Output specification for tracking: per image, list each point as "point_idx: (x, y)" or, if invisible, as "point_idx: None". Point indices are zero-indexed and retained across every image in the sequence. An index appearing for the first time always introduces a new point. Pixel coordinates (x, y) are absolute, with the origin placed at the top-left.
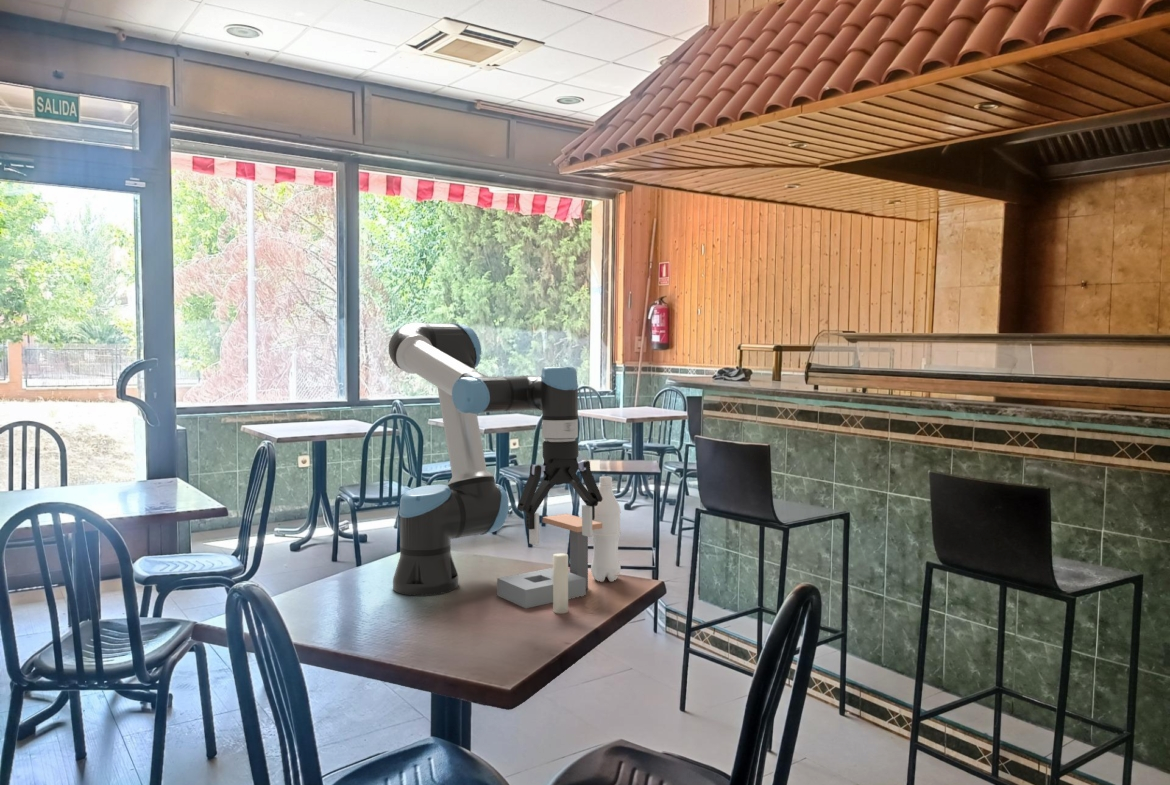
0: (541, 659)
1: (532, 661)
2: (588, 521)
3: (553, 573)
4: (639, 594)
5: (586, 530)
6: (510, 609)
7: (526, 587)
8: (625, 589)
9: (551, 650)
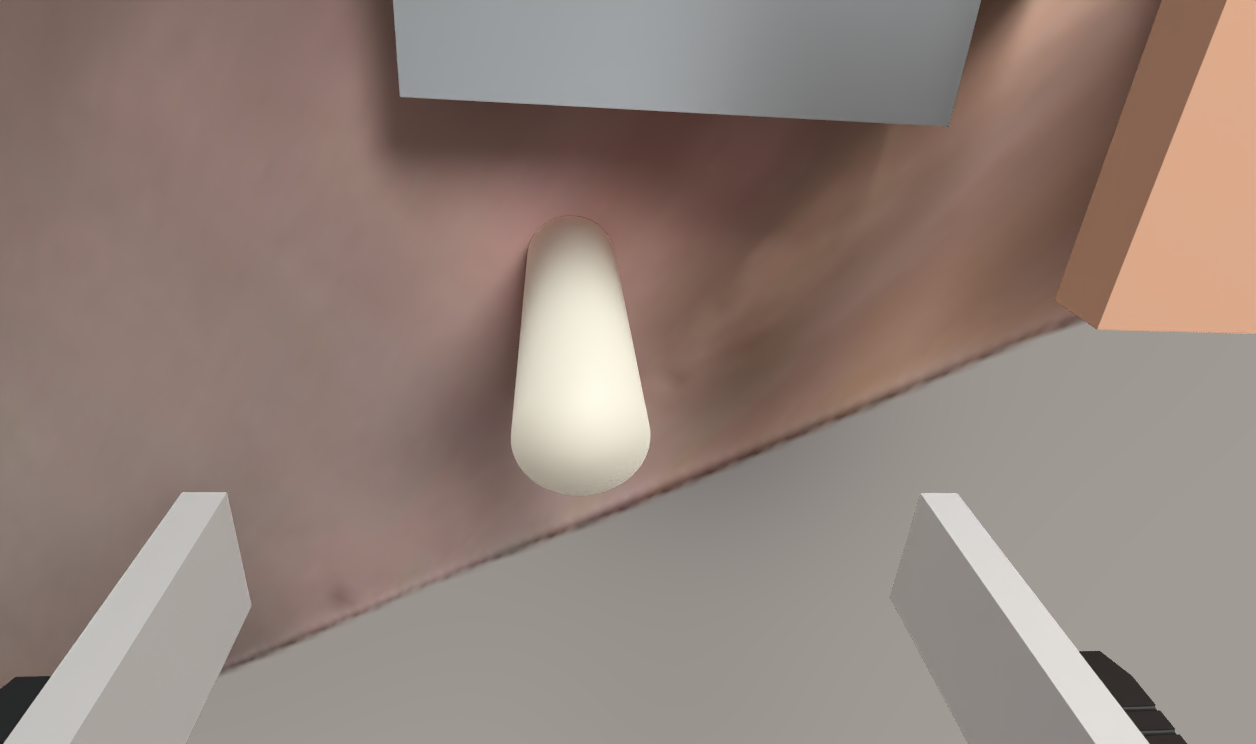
0: None
1: None
2: (970, 719)
3: (520, 348)
4: None
5: (926, 601)
6: (323, 20)
7: (442, 38)
8: None
9: None
